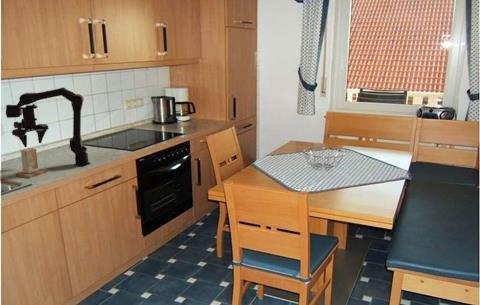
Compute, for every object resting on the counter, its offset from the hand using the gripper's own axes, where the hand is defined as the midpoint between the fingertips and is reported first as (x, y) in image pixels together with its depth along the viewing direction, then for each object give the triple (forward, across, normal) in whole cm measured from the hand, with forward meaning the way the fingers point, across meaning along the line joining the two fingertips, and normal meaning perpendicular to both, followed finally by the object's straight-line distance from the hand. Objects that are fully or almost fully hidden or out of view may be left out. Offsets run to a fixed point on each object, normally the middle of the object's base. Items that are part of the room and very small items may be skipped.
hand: (32, 145), depth 222 cm
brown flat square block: (+14, +9, +7) cm, 18 cm away
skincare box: (+12, +9, +7) cm, 16 cm away
